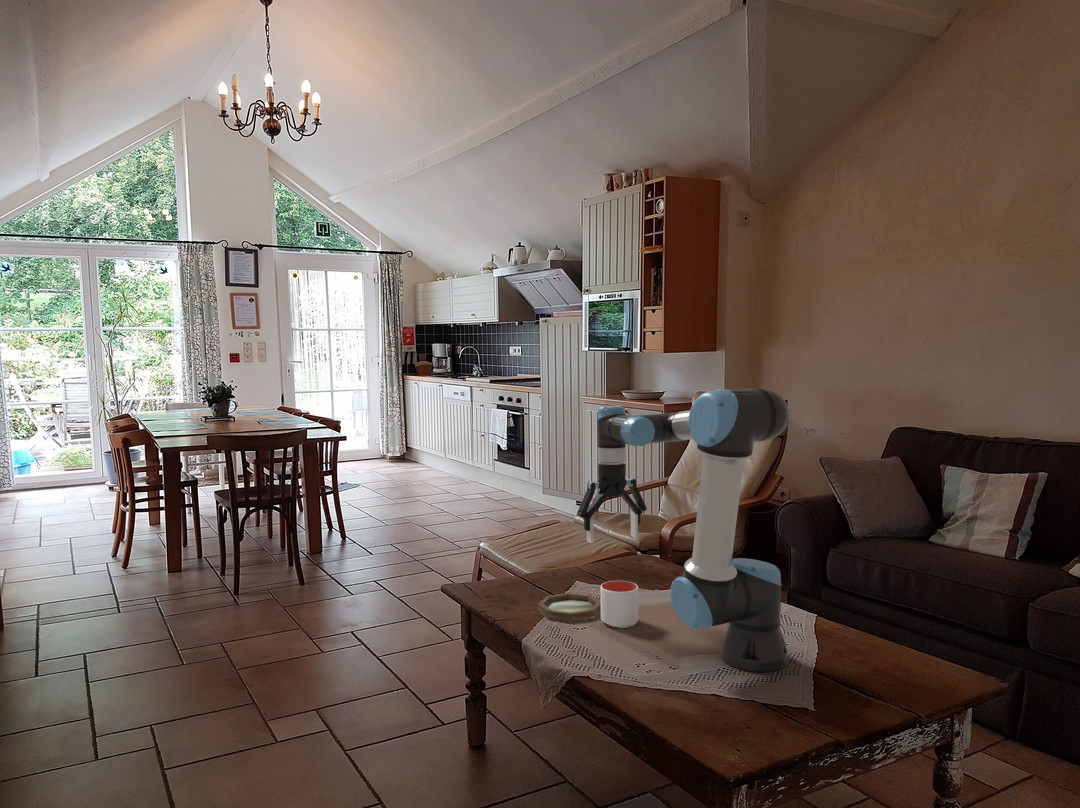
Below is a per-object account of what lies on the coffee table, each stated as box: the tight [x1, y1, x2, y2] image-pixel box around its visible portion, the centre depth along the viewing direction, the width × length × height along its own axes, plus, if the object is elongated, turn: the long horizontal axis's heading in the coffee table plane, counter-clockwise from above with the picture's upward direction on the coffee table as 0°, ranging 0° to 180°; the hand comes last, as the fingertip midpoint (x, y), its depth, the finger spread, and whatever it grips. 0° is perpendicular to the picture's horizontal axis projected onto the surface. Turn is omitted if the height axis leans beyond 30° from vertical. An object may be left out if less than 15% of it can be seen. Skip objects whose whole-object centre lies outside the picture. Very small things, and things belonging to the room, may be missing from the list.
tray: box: [537, 592, 601, 623], centre depth 214 cm, size 16×16×2 cm
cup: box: [600, 580, 639, 629], centre depth 204 cm, size 10×10×10 cm
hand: (612, 539), depth 209 cm, fingers open, 13 cm apart
